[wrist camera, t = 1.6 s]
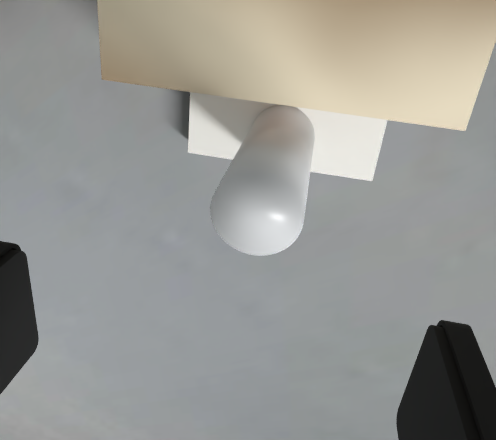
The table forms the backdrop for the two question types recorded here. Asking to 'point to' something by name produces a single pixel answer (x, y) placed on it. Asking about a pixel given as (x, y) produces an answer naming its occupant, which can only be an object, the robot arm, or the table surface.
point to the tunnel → (308, 53)
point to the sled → (275, 163)
